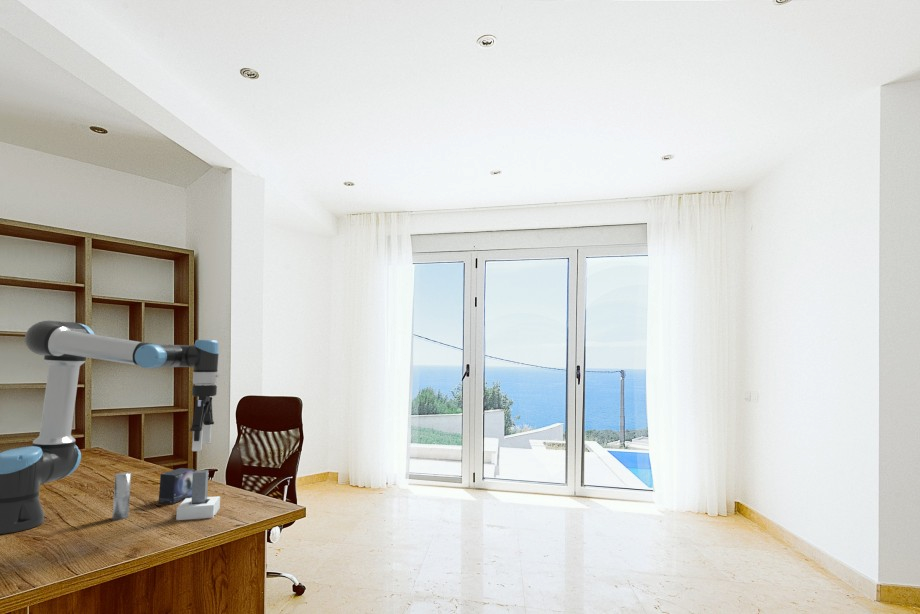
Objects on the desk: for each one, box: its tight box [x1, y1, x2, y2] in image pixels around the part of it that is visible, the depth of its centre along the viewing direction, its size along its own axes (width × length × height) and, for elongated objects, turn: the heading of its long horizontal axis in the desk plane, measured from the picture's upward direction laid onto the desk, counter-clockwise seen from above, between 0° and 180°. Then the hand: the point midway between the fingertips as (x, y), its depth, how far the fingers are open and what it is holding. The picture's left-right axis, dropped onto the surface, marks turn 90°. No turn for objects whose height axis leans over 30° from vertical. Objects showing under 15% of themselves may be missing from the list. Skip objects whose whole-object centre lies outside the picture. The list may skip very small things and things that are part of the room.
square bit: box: [191, 469, 209, 504], centre depth 174 cm, size 4×4×14 cm
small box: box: [157, 467, 195, 505], centre depth 190 cm, size 11×6×10 cm, turn 168°
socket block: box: [175, 495, 221, 521], centre depth 174 cm, size 11×11×4 cm
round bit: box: [112, 472, 132, 521], centre depth 170 cm, size 4×4×14 cm
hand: (201, 447), depth 176 cm, fingers open, 13 cm apart
